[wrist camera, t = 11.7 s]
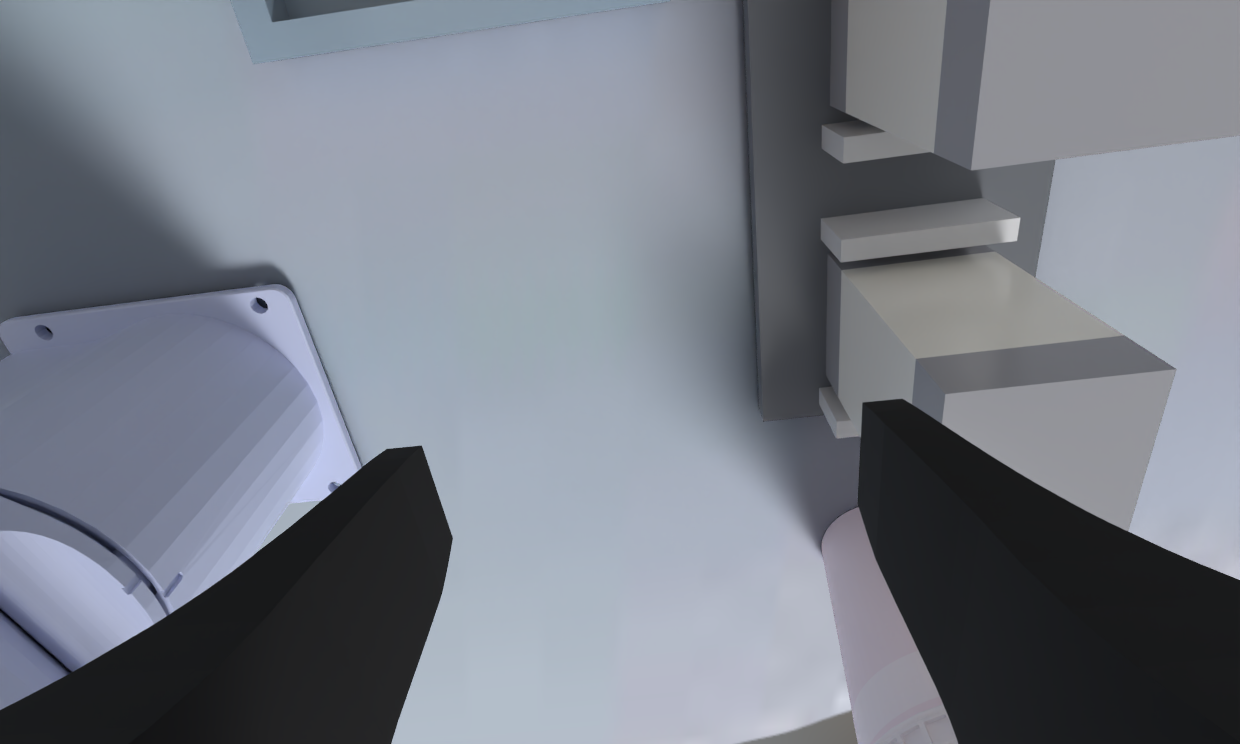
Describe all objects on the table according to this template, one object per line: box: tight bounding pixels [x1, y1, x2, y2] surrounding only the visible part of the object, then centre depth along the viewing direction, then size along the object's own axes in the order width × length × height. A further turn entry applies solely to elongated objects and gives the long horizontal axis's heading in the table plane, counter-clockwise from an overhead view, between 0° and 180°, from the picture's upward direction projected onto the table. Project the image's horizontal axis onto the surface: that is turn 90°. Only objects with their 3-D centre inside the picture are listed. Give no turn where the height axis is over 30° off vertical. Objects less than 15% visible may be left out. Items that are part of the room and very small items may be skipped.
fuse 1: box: [830, 0, 1240, 170], centre depth 13 cm, size 4×4×8 cm
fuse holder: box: [743, 0, 1055, 439], centre depth 16 cm, size 8×23×3 cm, turn 8°
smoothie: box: [821, 507, 958, 744], centre depth 19 cm, size 6×6×14 cm
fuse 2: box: [826, 245, 1176, 531], centre depth 16 cm, size 4×4×8 cm
